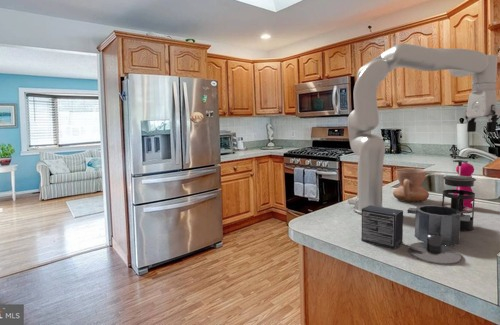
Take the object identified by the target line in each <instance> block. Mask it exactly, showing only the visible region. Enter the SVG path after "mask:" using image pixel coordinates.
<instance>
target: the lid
mask: <svg viewBox="0 0 500 325" xmlns="http://www.w3.org/2000/svg"><path fill="white" fill-rule="evenodd" d="M408 253H409V254H410V255H412V257H414V258H416V259H417V260H420V261H423V262H426V263H431V264H436V265H453V264H459V263H460V262H459V261H460V260H462V254H461V253H460V251H458V250H457V249H455V248H453V247H451V246H445V245H442V235H440V234H436V233H428V234H427V242H423V241H419V242H413V243H411V244H409V246H408Z"/></svg>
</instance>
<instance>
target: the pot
mask: <svg viewBox="0 0 500 325" xmlns="http://www.w3.org/2000/svg"><path fill="white" fill-rule="evenodd" d="M445 206H446V205H444V206H442V205H436V204H433V205H432V204H431V205H430V204H425V205H418V206H416V208H415V207H409V208H408V209H407V213H408V214H413V215H415V217H414V218H415V219H414V220H415V222H414V237H415V238H416V239H417V240H418V241H420V242H427V234H428V233H436V234H440V235H442V245H447V246H448V247H451V245H452V246H456V245H459V244H460V239H461V238H460V236H461V234H460V233H461V231H460V220H462V221H470V217H471V214H465V213H463V214H461V212H460V211H458V210H457V209H454V208H450V207H445ZM407 213H406V214H407ZM455 244H456V245H455Z"/></svg>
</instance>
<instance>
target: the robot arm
mask: <svg viewBox="0 0 500 325" xmlns="http://www.w3.org/2000/svg"><path fill="white" fill-rule="evenodd" d="M397 68H406V69H411V70H417V71H422V72H437V71H442V70H443V71H445V70H448V72H449V74H450V75H451V76H453V77H457V78H462V77H467V76H468V77H469V76H471V91H470V92H471V93H469V96H468V101H467V107H466V110H464V112H463V113H464V118H465V119H466V123H467V124H466V126H467V130H466V131H467V133H474V132H475V133H476V130H477V122H476V121H477V119H478V118H486V120H487V122H486V133H489V134H490V133H496V132H497V130H496V129H497V123H498V121H499V119H500V107H498V96H497V91H496V89H497V88H496V87H497V76H498V75H497V71H498V56H497V55H496V54H485V53H484V52H482V51H479V50H473V49H467V48H445V47H444V48H443V47H442V48H441V47H440V48H438V47H437V48H435V47H434V48H433V47H428V46H421V45H416V44H409V43H398V44H395V45H393V46H392V47H389V48H388V49H385V50H384V51H383V52H382V53H380V54H379V55H378V56H376V57H374V58H373V59H371V60H370V61H368V62H367V63H365V64H364V65H362V66H361V67H360V68H359V69H358V71H357V74H356V82H355V83H354V86H353V108H354V109H353V110H352V111H351V112H350V113H349V114H348V116H347V117H348V118H347V132H348V139H349V146H350V149H351V151H352V152H353V153H354V154H355V155H357V156H358V161H357V171H356V172H357V198H356V199H353V198H348V200H347V203H348V205H354V206H353V209H352V210H353V211H354V213H357V214H360V215H362V208H365V207H367V206H369V205H372V206H378V207H383V185H384V183H383V182H384V181H383V180H384V179H383V178H384V177H383V176H384V174H383V173H384V172H383V171H384V160H385V158H384V157H385V154H386V143H385V141H384V139H383V138H382V137H380V136H379V135H377V134H372V131H374V130H375V129H376V128H377V127H378V126H379V123H380V116H379V115H380V114H379V107H378V100H377V99H378V97H377V96H378V95H377V92H378V89H379V88H378V87H379V86H380V84H381V82H382V81H384V80H385V79H386V78H387V76H388V75H389V74H390V73H391V72H392V71H393V70H395V69H397Z"/></svg>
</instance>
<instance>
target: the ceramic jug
mask: <svg viewBox="0 0 500 325" xmlns="http://www.w3.org/2000/svg"><path fill="white" fill-rule="evenodd" d="M395 174H396V178H397V180H398V183H399V184H400V186H397V187H396V188H395V189H394V190H393V191H392V195H393V197H394V198H395V199H397V200H399V201H401V202H406V203H421V202H424V201H426V200H428V199H429V196H430V193H429V192H428V190H427V189H426V188H424V187H423V186H422V185H423V182H424V180H425V179H426V176H427V170H426V169H424V168H413V167H406V168H405V167H403V168H398V169H395Z"/></svg>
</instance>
